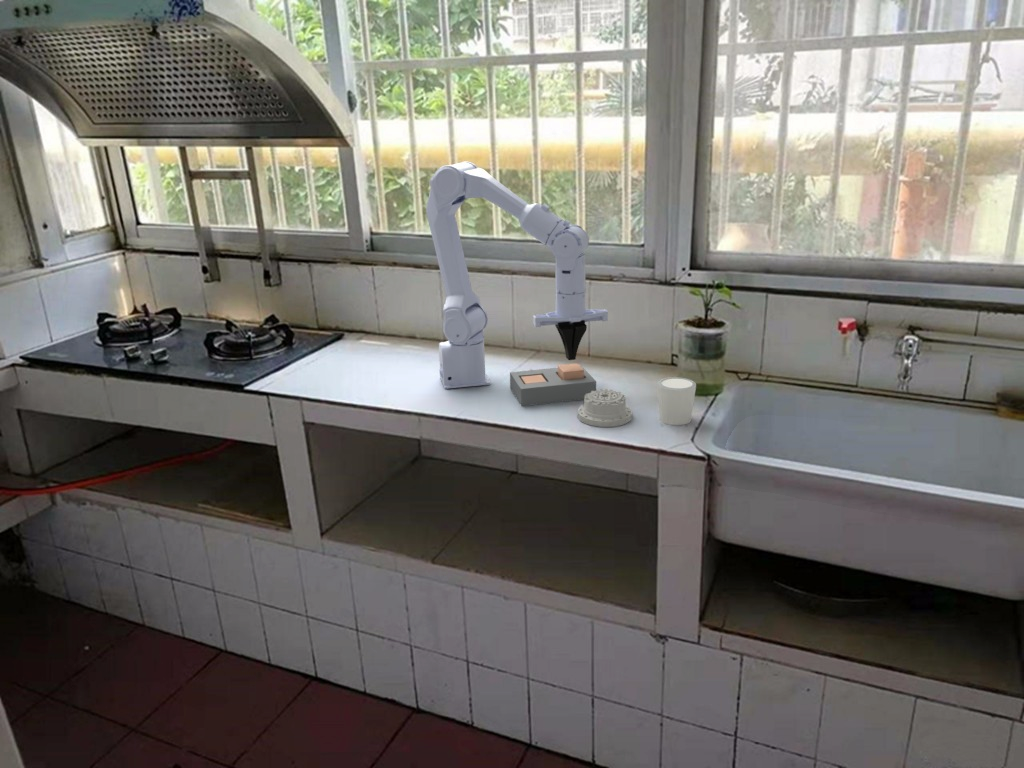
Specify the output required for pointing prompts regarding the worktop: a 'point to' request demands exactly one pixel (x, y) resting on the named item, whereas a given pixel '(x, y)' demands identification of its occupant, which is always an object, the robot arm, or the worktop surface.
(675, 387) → the white cup
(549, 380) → the switch block
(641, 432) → the worktop surface
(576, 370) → the button
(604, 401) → the mechanical component
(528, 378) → the button
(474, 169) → the robot arm
